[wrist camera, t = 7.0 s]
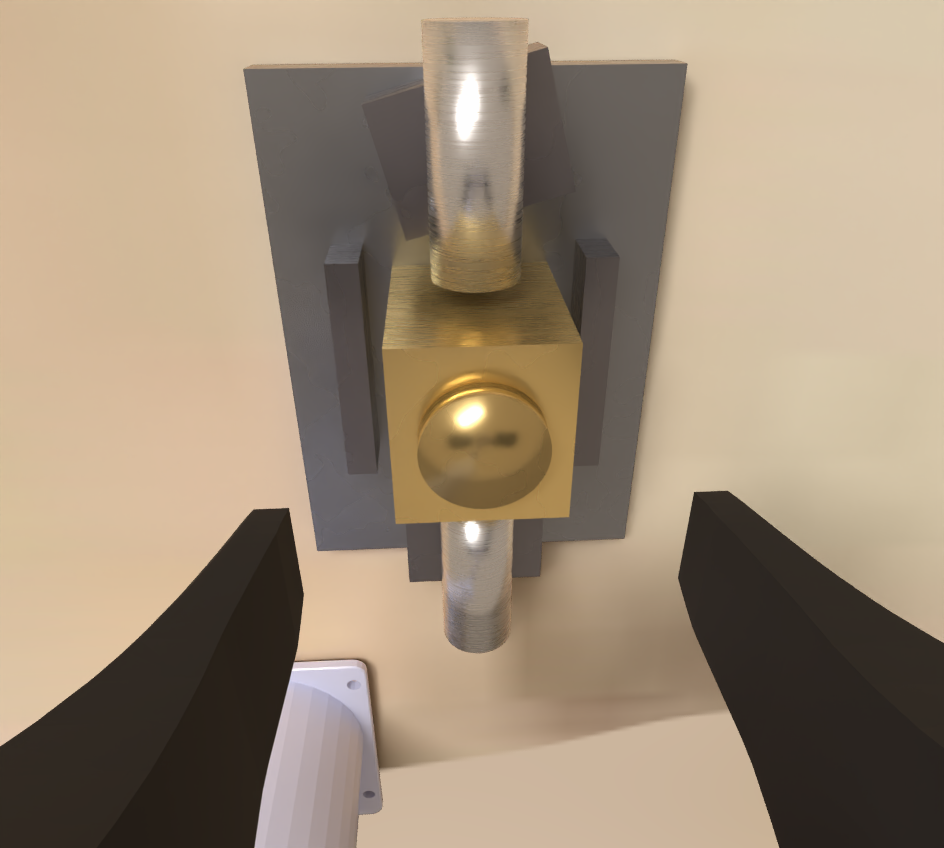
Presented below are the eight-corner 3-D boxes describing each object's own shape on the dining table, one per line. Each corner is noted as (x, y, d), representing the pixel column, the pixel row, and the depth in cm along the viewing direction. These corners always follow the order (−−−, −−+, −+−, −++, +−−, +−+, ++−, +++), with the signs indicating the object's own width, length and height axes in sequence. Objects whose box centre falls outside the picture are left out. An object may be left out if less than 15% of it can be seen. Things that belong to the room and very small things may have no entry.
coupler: (539, 409, 21) (573, 534, 16) (401, 413, 21) (394, 541, 16) (547, 262, 19) (588, 356, 14) (392, 265, 19) (380, 362, 14)
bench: (614, 542, 25) (649, 644, 21) (324, 553, 25) (305, 661, 21) (680, 12, 17) (758, 18, 13) (245, 15, 16) (188, 24, 12)
